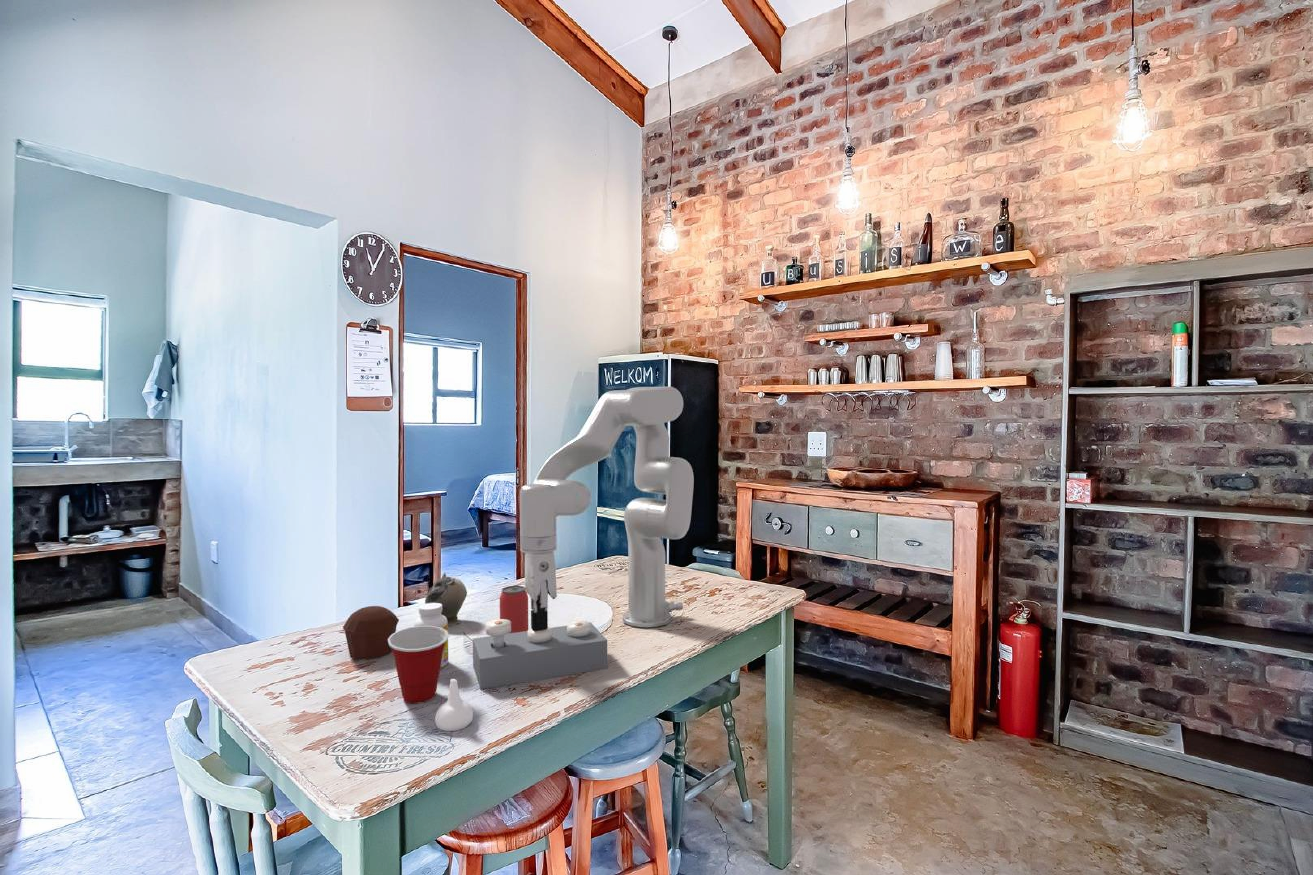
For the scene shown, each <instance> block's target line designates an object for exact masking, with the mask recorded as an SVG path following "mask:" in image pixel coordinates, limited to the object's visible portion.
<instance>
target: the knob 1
mask: <svg viewBox="0 0 1313 875" xmlns="http://www.w3.org/2000/svg"><path fill="white" fill-rule="evenodd" d="M510 632H511V621H510V620H506V619H500V618H497V619H491V620H489V621H487V622H485V634H486V635H487V636H493V649H494V648H501V647H504V635H506V634H508V633H510Z"/></svg>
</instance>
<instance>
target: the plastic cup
mask: <svg viewBox="0 0 1313 875" xmlns="http://www.w3.org/2000/svg"><path fill="white" fill-rule="evenodd" d="M449 636H450V634H449V631H448V632H447V631H446V630H444V629H443V628H440V627H435V626H416V627H415V626H409V627H405V628H403V629H400V630H396V632H395V633H394V634H392V635H391V636H390V637H389V638H388V643H389V646H390V647H391V649H392V651H391V653H392V656H393V659H394V663H395V669H396V674H397V679H398V683H399V686H400V692H401V697H402V699H403V701H404V702H405V703H407V704H422V703H425V702H428V701H431V700H433V698H435V696H436V693H437V688H438V681H439V678H440V673H441V672H440V671H441V668H440V667H441V661H442V654H443V650H444V646H445V642H446V641H447V639H448V640H449Z"/></svg>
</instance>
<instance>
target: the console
mask: <svg viewBox="0 0 1313 875" xmlns="http://www.w3.org/2000/svg"><path fill="white" fill-rule="evenodd" d="M589 623H590V634H589V635H586V636H582V637H572V636H569V635H568V634H567V625H561V626H556V627H555V626H554V627H550V628H551V629H552V638H551V640H549V641H546V642H541V643H534V642H530V641H528V631H524V632H516V633H509V634H506V635H504V647H501V648H494V649H493V636H490V635H487V636H482V637H474V638H472V667H473V670H474V673H475V677H476V680H477V683H478V686H479V689H480V690H484V689H490V688H497V687H504V686H509V685H515V684H520V683H527V682H532V681H534V682H535V681H538V680H539V681H540V680H545V679H549V678H550V679H551V678H556V677H562V676H567V675H575V674H579V673H580V674H581V673H587V672H591V671H592V672H593V671H598V670H605V669H608V639H607V638H606V637H605V636H604V635H603V634H602V633H601V632H600V630H598V629H597V627H596V626H595V625H594V624H593V623H592V622H589Z"/></svg>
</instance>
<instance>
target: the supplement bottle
mask: <svg viewBox="0 0 1313 875" xmlns="http://www.w3.org/2000/svg"><path fill="white" fill-rule="evenodd" d="M441 612H442V604H440V603H428V604H425V603H424V604H421V605H420V606H419V607H418V614H419V617H418V618H417V619H416V620H415V621H414V626H413V627H416V626H435V627H440V628H443V629H444V630H446V631H447V632H448V633H449V630H448V628H449V626H448V622H447V618H446V617H445V616H444V615H442V614H441ZM448 663H449V638H448V639H447V641H446V642H445V646H444V650H443V654H442V661H441V667H440V669H441V668H444V667H445V666H447V665H448Z"/></svg>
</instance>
